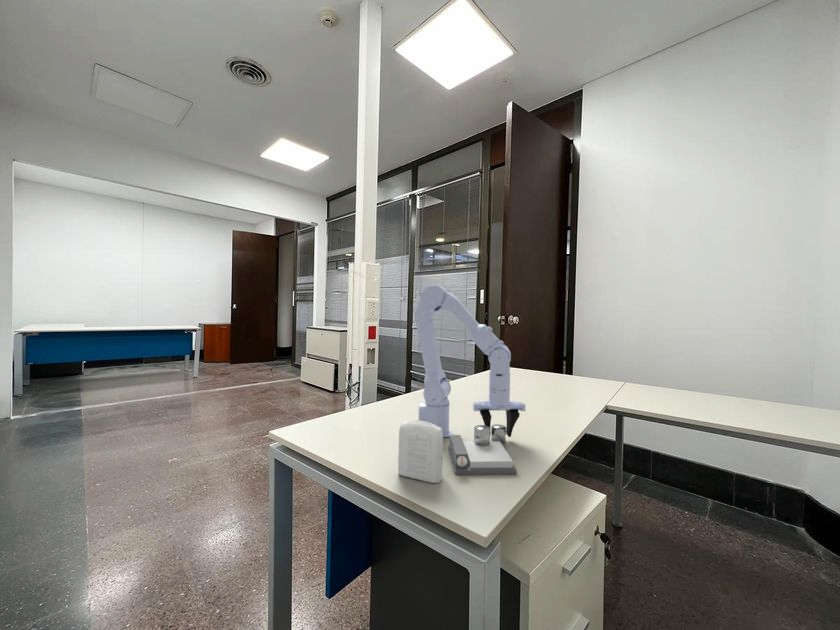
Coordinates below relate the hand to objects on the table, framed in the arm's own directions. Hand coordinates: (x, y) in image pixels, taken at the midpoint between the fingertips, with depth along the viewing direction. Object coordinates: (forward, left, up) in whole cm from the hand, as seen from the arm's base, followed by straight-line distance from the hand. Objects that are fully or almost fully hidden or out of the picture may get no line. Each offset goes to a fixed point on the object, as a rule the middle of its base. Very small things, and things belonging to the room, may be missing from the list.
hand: (498, 435), depth 93 cm
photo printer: (-23, -19, -2) cm, 30 cm away
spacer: (0, 0, -2) cm, 2 cm away
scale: (-8, -12, -1) cm, 14 cm away
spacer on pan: (-6, -8, +1) cm, 10 cm away
